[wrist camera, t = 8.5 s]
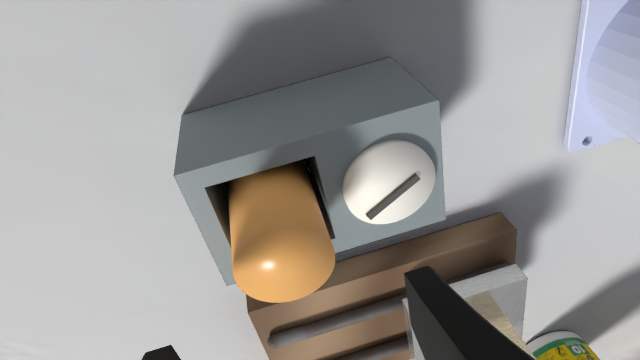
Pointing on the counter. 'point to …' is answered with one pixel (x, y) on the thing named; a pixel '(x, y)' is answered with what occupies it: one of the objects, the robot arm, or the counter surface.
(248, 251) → the button
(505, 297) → the carriage
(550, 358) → the supplement bottle
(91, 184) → the counter surface
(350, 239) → the gauge box
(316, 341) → the rail track
